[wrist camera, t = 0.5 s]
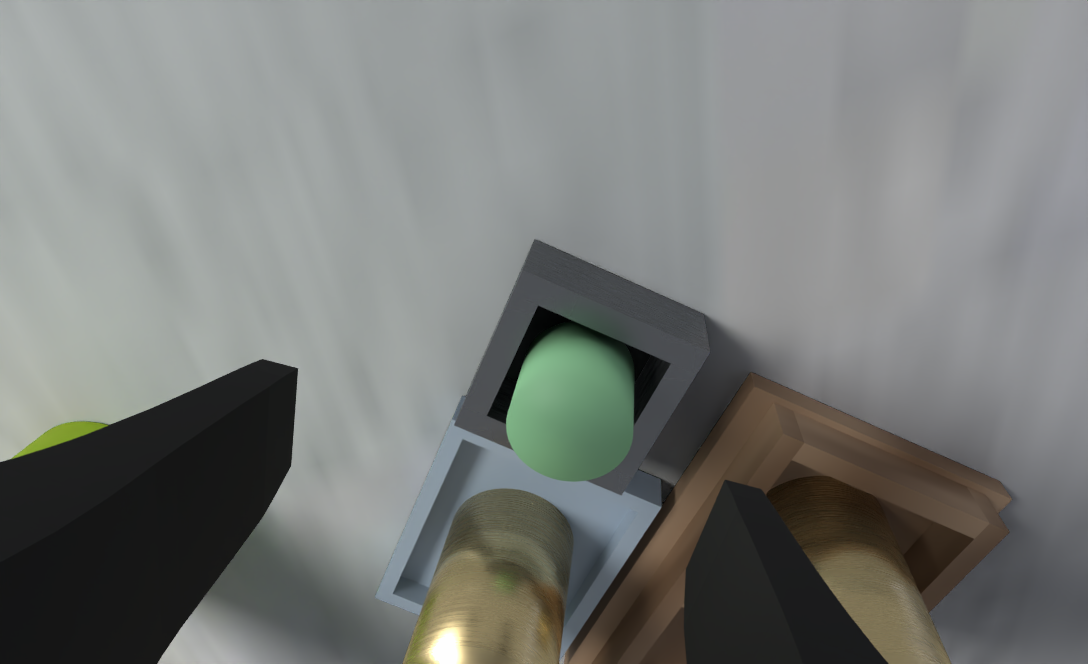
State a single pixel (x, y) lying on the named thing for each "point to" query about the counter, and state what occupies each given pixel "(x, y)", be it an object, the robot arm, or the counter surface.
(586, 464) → the button
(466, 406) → the button housing
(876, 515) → the cylinder
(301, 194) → the counter surface
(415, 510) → the light blue shallow tray
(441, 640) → the cylinder
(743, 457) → the wooden tray
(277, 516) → the counter surface
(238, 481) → the robot arm
